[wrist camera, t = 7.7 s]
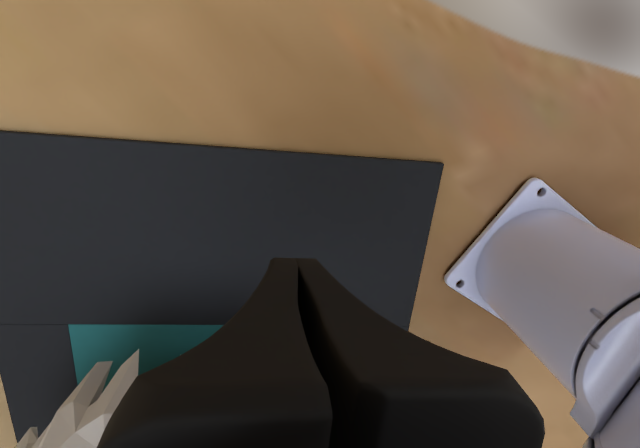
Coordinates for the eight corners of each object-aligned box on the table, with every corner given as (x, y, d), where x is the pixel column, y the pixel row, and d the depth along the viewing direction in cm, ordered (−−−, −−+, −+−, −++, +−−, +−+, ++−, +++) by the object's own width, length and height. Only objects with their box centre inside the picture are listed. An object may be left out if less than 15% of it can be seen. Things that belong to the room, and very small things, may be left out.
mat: (-55, 126, 18) (-61, 127, 18) (441, 161, 22) (444, 163, 21) (48, 552, 29) (45, 559, 29) (363, 528, 33) (364, 533, 33)
